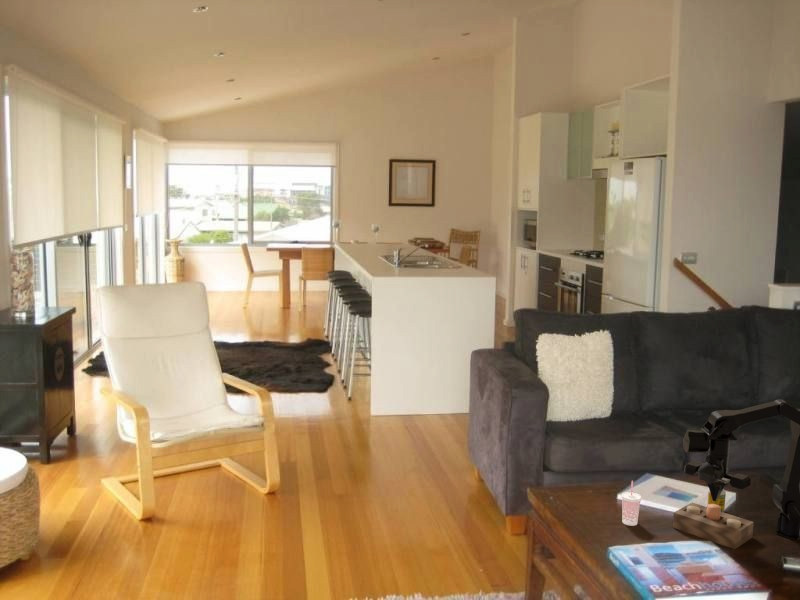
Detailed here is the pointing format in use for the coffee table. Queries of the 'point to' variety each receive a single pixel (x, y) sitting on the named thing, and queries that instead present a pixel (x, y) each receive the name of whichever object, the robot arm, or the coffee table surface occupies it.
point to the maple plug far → (693, 510)
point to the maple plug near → (733, 523)
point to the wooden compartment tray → (713, 527)
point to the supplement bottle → (718, 500)
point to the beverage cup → (630, 507)
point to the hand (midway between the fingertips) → (714, 500)
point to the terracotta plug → (713, 512)
